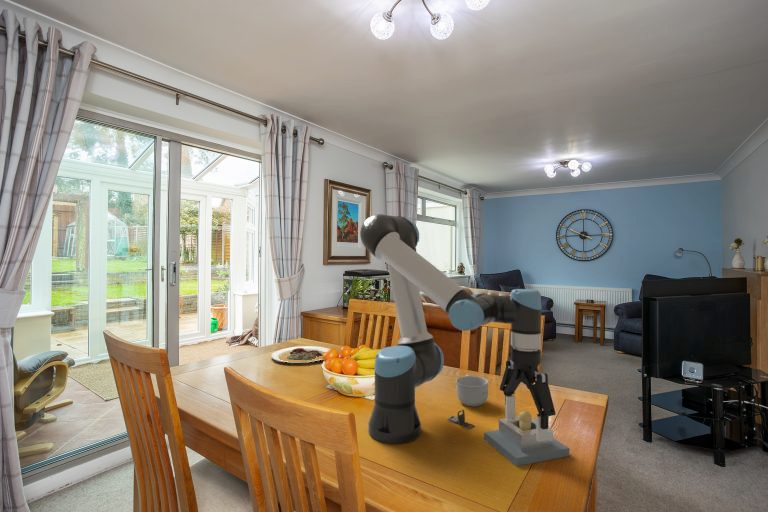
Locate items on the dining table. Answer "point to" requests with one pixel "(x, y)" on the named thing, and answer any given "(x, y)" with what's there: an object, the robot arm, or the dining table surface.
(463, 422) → the strap clip
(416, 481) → the dining table surface
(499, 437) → the keeper
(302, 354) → the plated food
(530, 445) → the grey square ring block
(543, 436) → the robot arm
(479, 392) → the teacup
